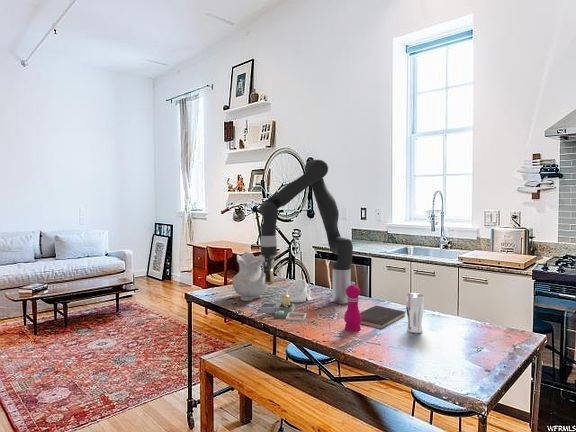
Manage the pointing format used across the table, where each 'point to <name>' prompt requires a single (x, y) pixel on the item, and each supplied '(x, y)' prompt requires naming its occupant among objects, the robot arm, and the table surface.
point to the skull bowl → (299, 291)
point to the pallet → (275, 308)
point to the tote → (296, 318)
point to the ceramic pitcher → (250, 277)
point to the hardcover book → (380, 316)
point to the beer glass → (415, 312)
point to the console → (280, 315)
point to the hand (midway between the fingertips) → (269, 280)
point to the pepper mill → (352, 308)
